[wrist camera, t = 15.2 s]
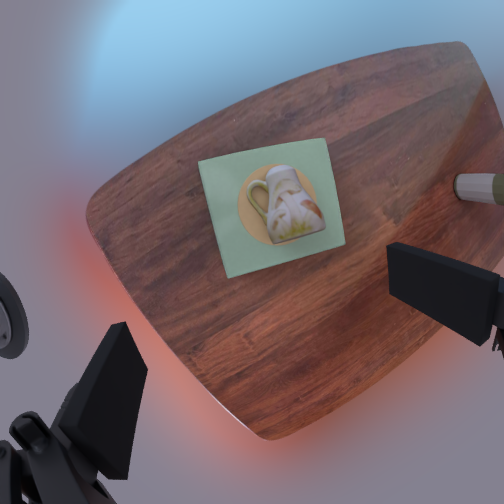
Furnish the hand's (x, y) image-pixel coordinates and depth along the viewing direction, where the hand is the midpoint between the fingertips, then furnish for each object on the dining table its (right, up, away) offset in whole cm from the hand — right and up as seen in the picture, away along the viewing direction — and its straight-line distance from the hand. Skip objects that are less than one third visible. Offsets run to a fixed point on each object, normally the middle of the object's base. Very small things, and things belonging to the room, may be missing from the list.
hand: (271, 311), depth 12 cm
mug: (+3, +9, +24) cm, 26 cm away
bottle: (+49, +19, +39) cm, 65 cm away
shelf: (+1, +10, +31) cm, 33 cm away
